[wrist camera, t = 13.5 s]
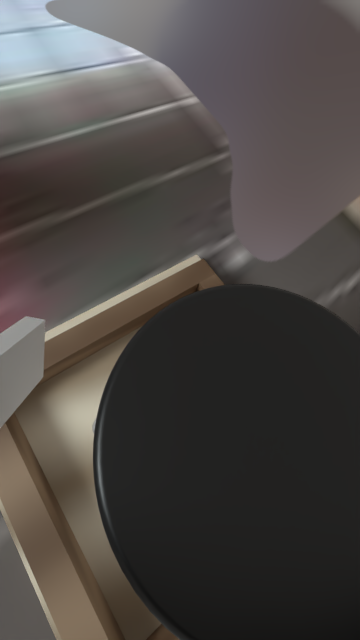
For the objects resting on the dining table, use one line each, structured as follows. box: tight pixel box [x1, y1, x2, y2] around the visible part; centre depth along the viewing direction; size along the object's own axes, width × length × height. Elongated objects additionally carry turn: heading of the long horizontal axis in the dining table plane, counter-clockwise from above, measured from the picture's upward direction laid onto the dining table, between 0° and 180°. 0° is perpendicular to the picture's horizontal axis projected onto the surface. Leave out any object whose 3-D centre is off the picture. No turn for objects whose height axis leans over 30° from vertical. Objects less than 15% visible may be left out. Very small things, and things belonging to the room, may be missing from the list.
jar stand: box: [0, 255, 224, 640], centre depth 17 cm, size 20×19×3 cm
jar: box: [92, 284, 360, 640], centre depth 12 cm, size 9×8×12 cm
